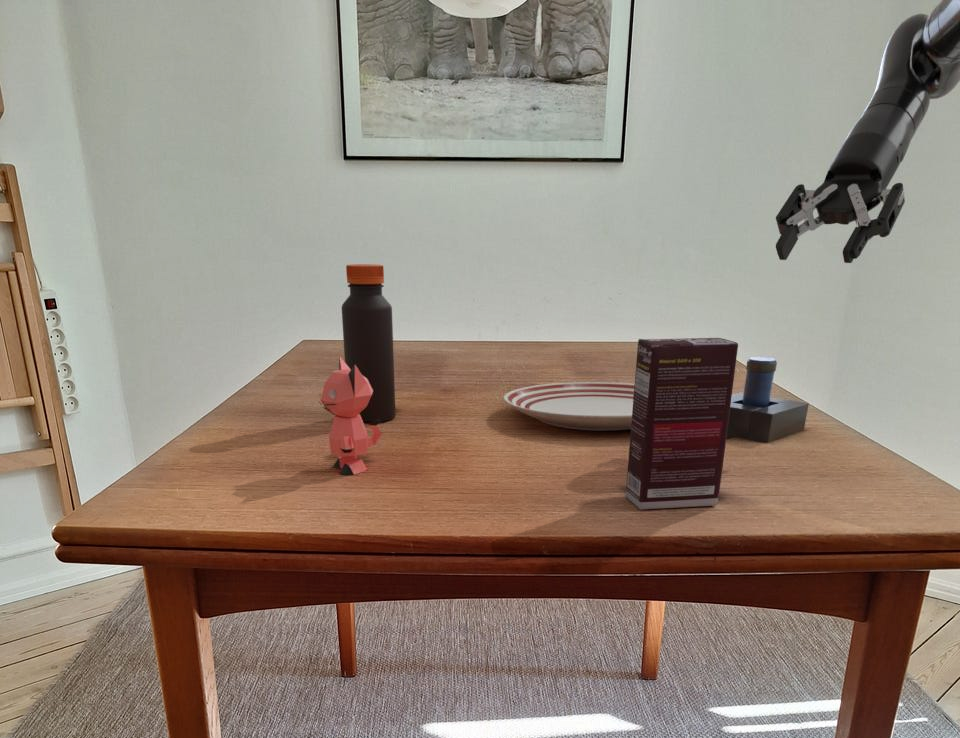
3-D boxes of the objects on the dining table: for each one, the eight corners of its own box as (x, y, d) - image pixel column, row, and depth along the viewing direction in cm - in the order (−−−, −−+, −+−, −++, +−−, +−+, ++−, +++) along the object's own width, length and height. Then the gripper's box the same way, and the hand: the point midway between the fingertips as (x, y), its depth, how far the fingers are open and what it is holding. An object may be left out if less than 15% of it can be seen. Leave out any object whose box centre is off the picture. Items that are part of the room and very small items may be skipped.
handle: (769, 437, 112) (782, 359, 108) (756, 441, 110) (768, 362, 105) (744, 432, 115) (756, 355, 110) (730, 436, 112) (742, 358, 108)
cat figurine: (316, 463, 98) (307, 356, 93) (372, 457, 101) (367, 353, 95) (332, 479, 93) (324, 366, 87) (391, 473, 95) (387, 363, 90)
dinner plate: (464, 414, 123) (464, 391, 121) (591, 392, 139) (592, 371, 137) (606, 452, 104) (608, 425, 103) (733, 421, 120) (736, 397, 119)
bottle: (353, 424, 116) (344, 266, 107) (343, 414, 122) (334, 263, 113) (400, 421, 118) (395, 266, 109) (389, 411, 124) (384, 263, 115)
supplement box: (699, 493, 89) (720, 336, 82) (718, 507, 85) (742, 343, 78) (621, 496, 88) (636, 337, 81) (637, 511, 84) (653, 344, 77)
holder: (802, 437, 112) (809, 403, 110) (766, 450, 106) (772, 414, 104) (735, 424, 119) (740, 392, 116) (697, 436, 112) (701, 402, 110)
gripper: (811, 133, 108) (753, 232, 106) (926, 126, 99) (865, 234, 97) (821, 181, 114) (766, 276, 112) (931, 179, 105) (874, 282, 103)
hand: (812, 256), depth 105 cm, fingers open, 8 cm apart
